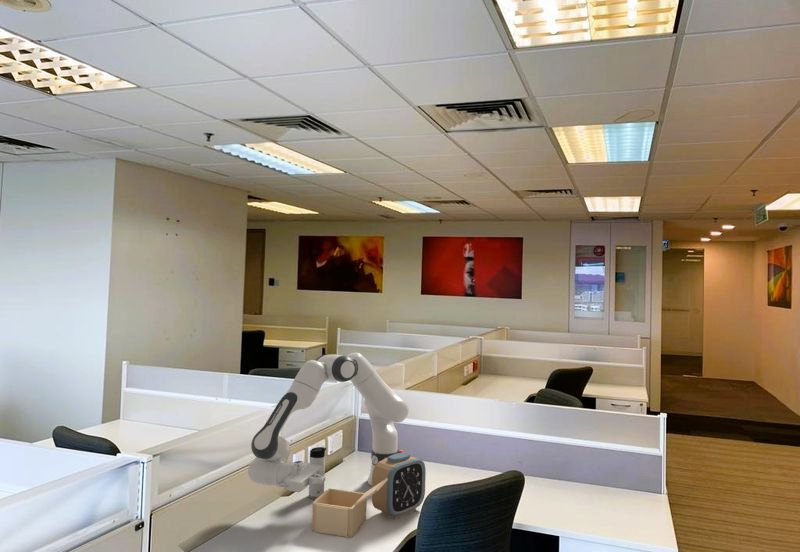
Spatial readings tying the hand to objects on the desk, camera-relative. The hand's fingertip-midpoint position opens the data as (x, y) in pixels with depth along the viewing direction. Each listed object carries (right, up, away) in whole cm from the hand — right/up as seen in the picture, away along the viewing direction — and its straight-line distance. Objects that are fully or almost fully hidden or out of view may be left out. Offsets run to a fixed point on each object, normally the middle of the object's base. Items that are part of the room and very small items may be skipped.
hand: (323, 480), depth 207 cm
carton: (+6, -16, -2) cm, 17 cm away
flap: (+13, -5, -4) cm, 15 cm away
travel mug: (-6, -16, +25) cm, 31 cm away
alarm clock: (+27, -17, +12) cm, 34 cm away
